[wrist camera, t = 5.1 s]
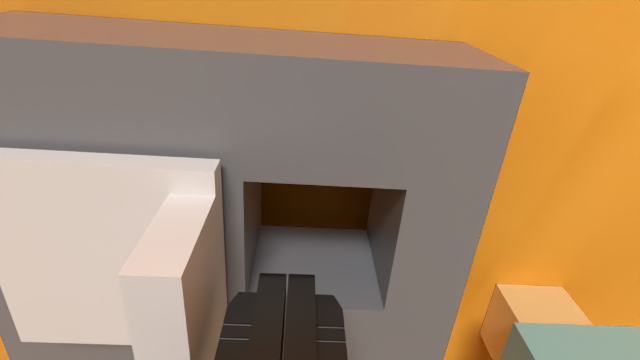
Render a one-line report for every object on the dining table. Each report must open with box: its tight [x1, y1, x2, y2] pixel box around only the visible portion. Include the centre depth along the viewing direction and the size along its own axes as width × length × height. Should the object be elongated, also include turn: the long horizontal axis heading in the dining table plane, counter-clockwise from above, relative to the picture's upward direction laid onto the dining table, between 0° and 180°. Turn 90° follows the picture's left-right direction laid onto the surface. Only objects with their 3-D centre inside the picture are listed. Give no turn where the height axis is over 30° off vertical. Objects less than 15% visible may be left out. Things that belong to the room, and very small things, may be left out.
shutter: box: [0, 148, 227, 360], centre depth 11 cm, size 6×6×4 cm
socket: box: [0, 11, 530, 360], centre depth 15 cm, size 16×12×5 cm
